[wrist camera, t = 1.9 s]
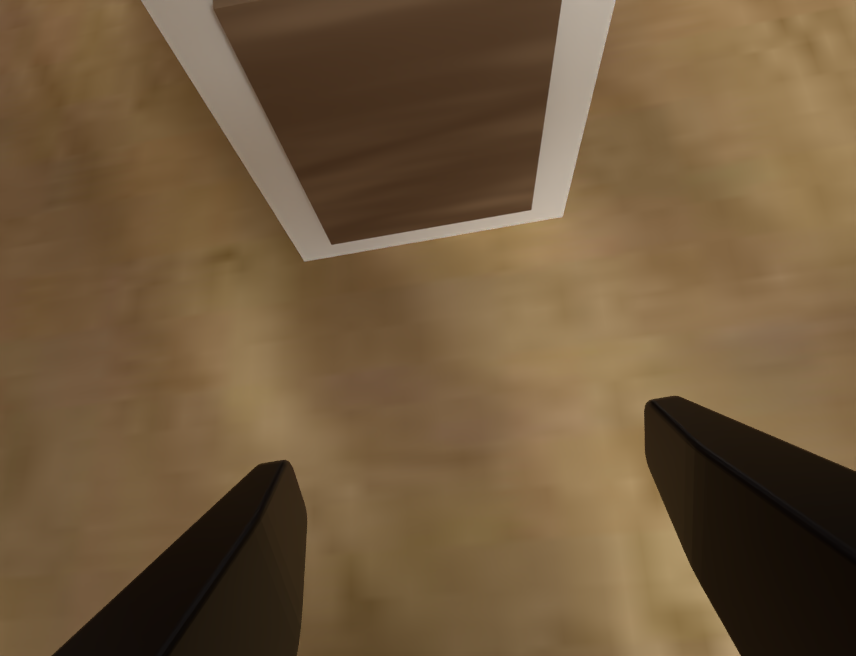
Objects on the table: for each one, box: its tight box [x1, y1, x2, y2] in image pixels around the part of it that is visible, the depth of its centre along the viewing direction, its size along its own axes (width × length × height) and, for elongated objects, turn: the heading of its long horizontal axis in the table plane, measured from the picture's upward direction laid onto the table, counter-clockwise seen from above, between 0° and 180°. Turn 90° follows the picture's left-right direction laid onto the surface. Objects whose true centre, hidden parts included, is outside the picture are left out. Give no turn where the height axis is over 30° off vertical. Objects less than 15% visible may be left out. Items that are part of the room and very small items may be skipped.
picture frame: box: [141, 0, 616, 262], centre depth 19 cm, size 5×11×14 cm, turn 98°
